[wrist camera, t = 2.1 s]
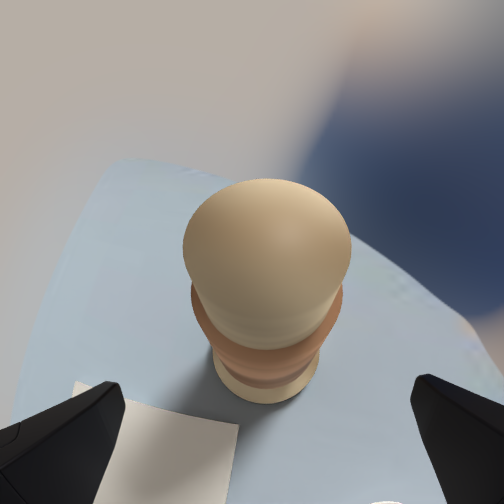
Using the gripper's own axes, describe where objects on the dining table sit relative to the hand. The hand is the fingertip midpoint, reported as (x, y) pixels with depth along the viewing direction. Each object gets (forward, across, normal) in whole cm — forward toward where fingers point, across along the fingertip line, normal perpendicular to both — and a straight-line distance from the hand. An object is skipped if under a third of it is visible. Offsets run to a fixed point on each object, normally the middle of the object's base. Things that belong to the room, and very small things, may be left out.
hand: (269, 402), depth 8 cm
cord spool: (+11, 0, +5) cm, 12 cm away
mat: (+2, +9, +13) cm, 16 cm away
